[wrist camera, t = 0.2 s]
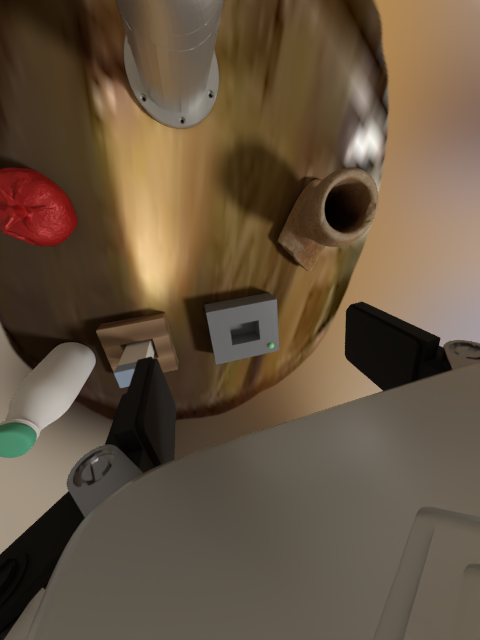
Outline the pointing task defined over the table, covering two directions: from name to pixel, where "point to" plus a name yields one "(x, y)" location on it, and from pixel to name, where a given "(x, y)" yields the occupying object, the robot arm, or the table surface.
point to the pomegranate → (34, 208)
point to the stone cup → (329, 215)
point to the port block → (243, 327)
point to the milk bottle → (44, 396)
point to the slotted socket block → (139, 339)
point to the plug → (132, 360)
